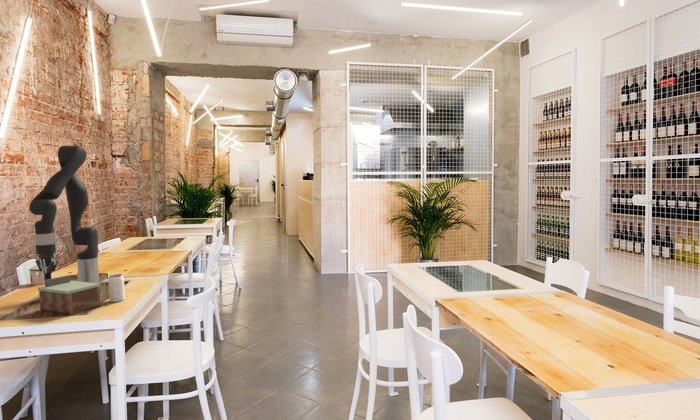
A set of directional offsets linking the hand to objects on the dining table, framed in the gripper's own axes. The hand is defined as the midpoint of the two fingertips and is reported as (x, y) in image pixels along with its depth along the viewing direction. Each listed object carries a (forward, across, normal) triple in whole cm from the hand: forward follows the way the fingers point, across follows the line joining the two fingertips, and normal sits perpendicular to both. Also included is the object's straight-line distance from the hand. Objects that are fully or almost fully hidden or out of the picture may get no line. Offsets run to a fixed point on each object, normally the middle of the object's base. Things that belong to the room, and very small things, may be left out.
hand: (47, 280), depth 203 cm
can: (+12, -23, -17) cm, 31 cm away
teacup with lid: (+12, +53, -28) cm, 61 cm away
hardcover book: (+12, +33, -40) cm, 53 cm away
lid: (+2, -15, 0) cm, 15 cm away
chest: (+12, -15, 0) cm, 19 cm away
